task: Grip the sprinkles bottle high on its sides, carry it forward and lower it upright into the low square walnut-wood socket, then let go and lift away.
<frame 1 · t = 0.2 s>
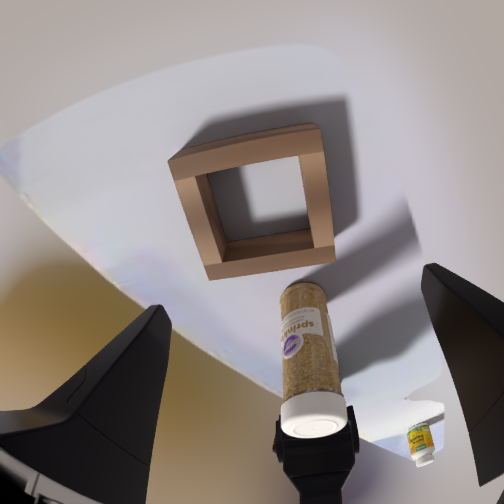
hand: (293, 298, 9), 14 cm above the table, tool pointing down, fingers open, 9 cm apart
sprinkles bottle: (302, 297, 28), on the table
supplement bottle: (417, 426, 48), on the table
walnut socket: (259, 196, 23), on the table
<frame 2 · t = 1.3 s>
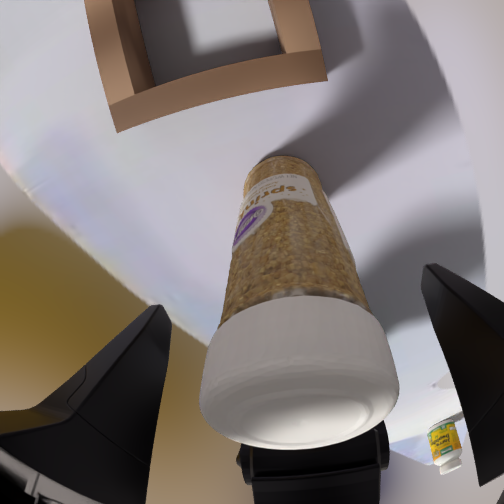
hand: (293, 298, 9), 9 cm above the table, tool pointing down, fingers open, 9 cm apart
sprinkles bottle: (282, 190, 17), on the table
supplement bottle: (439, 424, 37), on the table
walnut socket: (202, 17, 11), on the table
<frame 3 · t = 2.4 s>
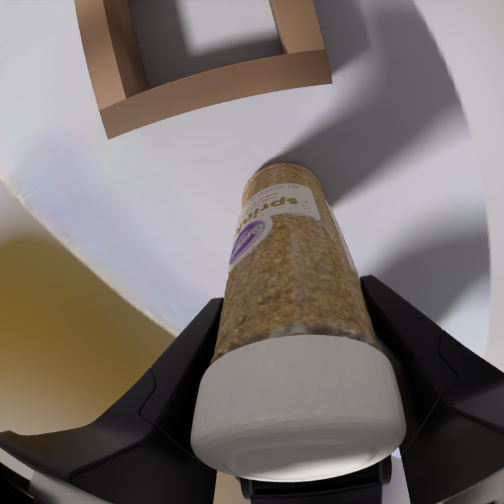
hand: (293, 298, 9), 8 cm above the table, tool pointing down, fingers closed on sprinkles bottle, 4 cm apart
sprinkles bottle: (283, 199, 16), on the table, touching gripper
walnut socket: (199, 15, 11), on the table
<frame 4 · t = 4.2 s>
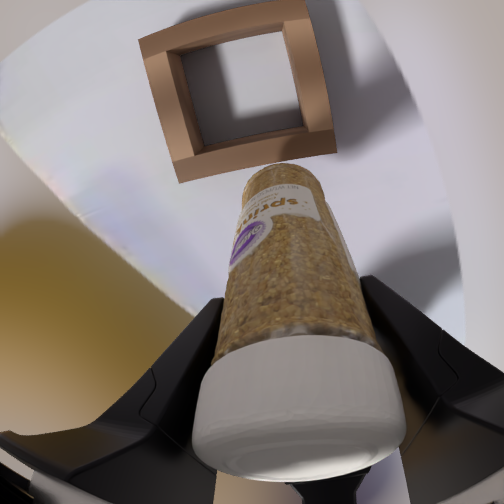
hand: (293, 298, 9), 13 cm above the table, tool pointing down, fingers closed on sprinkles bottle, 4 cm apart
sprinkles bottle: (283, 199, 16), point 5 cm above the table, touching gripper
walnut socket: (241, 87, 17), on the table
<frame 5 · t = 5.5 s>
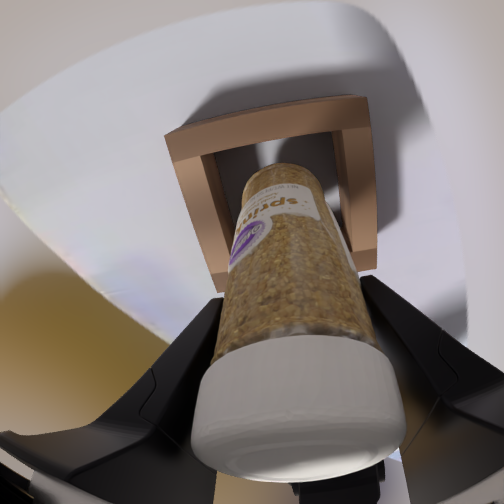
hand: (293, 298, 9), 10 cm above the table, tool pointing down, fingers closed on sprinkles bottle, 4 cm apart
sprinkles bottle: (282, 199, 16), point 2 cm above the table, touching gripper
walnut socket: (281, 186, 18), on the table
when the fingers open (9 cm above the table, at t = 6.3 s): sprinkles bottle drops 1 cm, resting in walnut socket.
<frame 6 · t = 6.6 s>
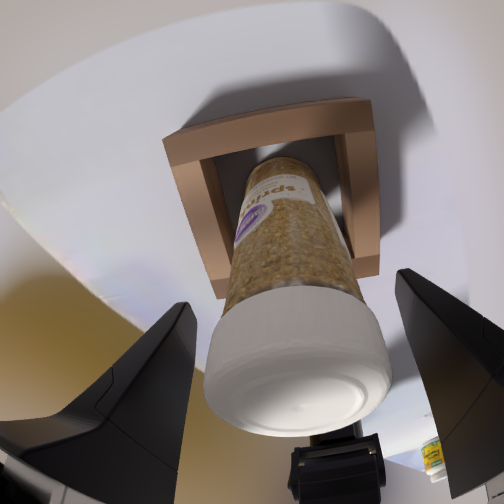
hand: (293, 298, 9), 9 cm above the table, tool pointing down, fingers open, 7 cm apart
sprinkles bottle: (282, 191, 18), resting in walnut socket
supplement bottle: (432, 440, 42), on the table
walnut socket: (282, 191, 17), on the table
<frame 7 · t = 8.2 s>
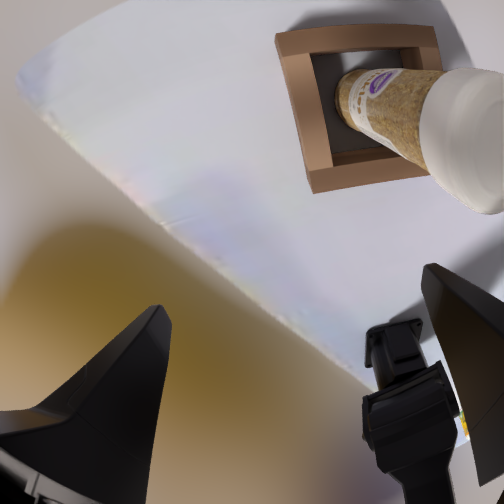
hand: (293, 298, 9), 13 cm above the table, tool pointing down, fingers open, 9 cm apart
sprinkles bottle: (363, 100, 17), resting in walnut socket
supplement bottle: (468, 405, 41), on the table
walnut socket: (364, 99, 17), on the table
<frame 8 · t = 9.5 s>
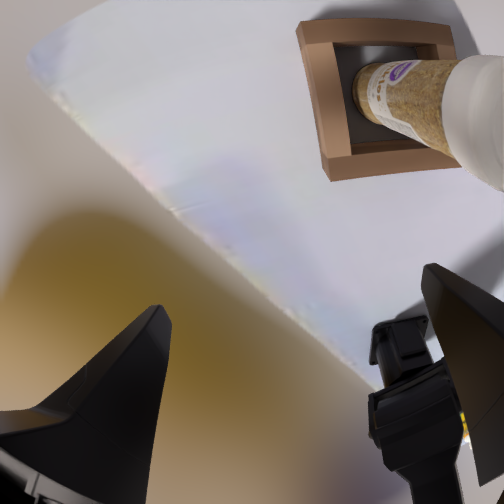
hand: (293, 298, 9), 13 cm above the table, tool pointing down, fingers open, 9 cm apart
sprinkles bottle: (379, 94, 17), resting in walnut socket
supplement bottle: (466, 407, 41), on the table
walnut socket: (380, 93, 16), on the table
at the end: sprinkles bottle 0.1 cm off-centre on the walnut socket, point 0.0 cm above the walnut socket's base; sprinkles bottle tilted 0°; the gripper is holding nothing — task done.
